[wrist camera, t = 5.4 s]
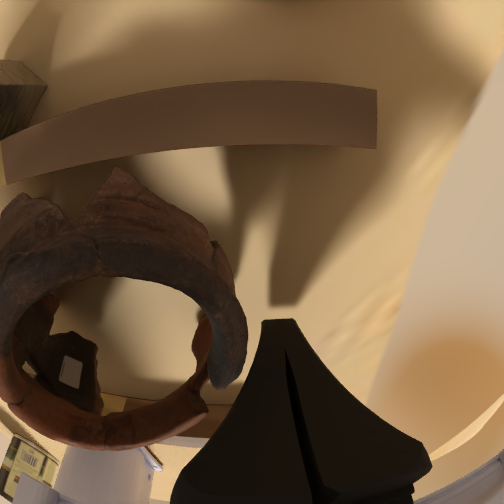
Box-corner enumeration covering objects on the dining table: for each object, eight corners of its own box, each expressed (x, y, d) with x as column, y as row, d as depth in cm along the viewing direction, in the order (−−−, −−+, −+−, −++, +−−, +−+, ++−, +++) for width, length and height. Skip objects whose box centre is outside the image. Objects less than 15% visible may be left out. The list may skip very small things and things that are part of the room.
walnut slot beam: (307, 413, 15) (313, 444, 13) (-2, 370, 15) (-13, 387, 13) (345, 96, 8) (376, 89, 6) (-76, 195, 8) (-95, 207, 5)
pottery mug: (42, 126, 8) (-41, 118, 2) (214, 201, 14) (335, 274, 8) (-1, 346, 10) (-7, 476, 3) (137, 374, 16) (187, 483, 9)
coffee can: (29, 449, 28) (12, 498, 16) (5, 425, 24) (-18, 481, 11) (68, 469, 29) (54, 523, 17) (46, 449, 25) (26, 512, 12)
